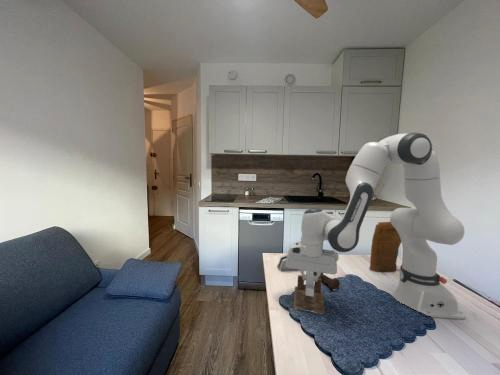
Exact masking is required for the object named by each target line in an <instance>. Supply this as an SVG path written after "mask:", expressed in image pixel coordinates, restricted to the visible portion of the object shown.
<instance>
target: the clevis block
mask: <svg viewBox="0 0 500 375" xmlns="http://www.w3.org/2000/svg"><path fill="white" fill-rule="evenodd" d="M302 279H303V276H302V275H301V274H300V275H299V274H298V275H297V285H296V286H294V295H293V302H292V303H293V305H292V309H293V308H297V309H303V310H309V311H314V312H318V313H323V314H325V315H326V308H325V307H326V306H325V299H324V291H323V290H322V282H323V281H322V280H321V278H318V279H317V282H314V297H313V296H307V295H306V283H305V280H302Z"/></svg>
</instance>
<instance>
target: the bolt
mask: <svg viewBox="0 0 500 375" xmlns="http://www.w3.org/2000/svg"><path fill="white" fill-rule="evenodd" d="M313 274H314V276H316V275H317V272H313ZM319 278H321V280H322V281H321V282H323V283H324V284H325V285H328V287H329V289H330V288H331V289H332V290H333V289H336V288H338V289H339V288H340V285H341V284H340V283H341V281H340V280H339V279H338V278H337V277H335V278H331V277H329V276H327V274H325V273H321V275H320V276H319ZM331 289H330V290H331ZM332 290H331V291H332Z"/></svg>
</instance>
